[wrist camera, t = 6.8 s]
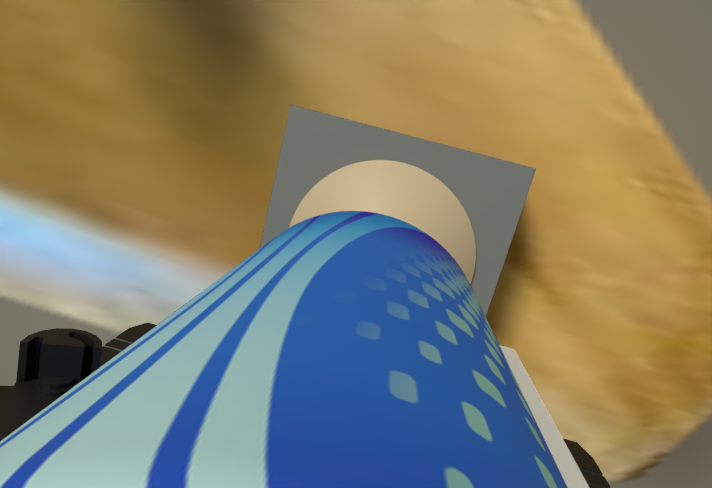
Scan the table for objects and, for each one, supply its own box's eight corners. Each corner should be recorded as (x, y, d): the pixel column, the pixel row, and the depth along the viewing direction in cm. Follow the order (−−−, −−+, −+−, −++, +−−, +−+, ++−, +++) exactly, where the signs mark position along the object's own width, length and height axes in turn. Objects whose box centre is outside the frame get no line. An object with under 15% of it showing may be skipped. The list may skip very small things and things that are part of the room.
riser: (264, 303, 34) (240, 332, 29) (307, 110, 31) (289, 104, 26) (451, 355, 34) (460, 394, 29) (514, 164, 31) (537, 169, 25)
